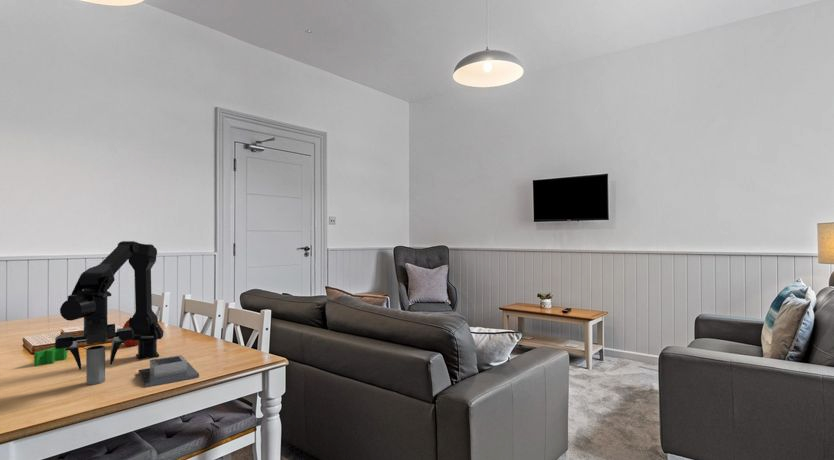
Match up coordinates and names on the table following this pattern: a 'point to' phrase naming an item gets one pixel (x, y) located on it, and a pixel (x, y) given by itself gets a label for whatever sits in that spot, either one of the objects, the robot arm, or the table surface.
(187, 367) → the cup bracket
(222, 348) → the table surface
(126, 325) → the apple
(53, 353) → the pipe clamp
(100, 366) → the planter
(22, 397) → the table surface
